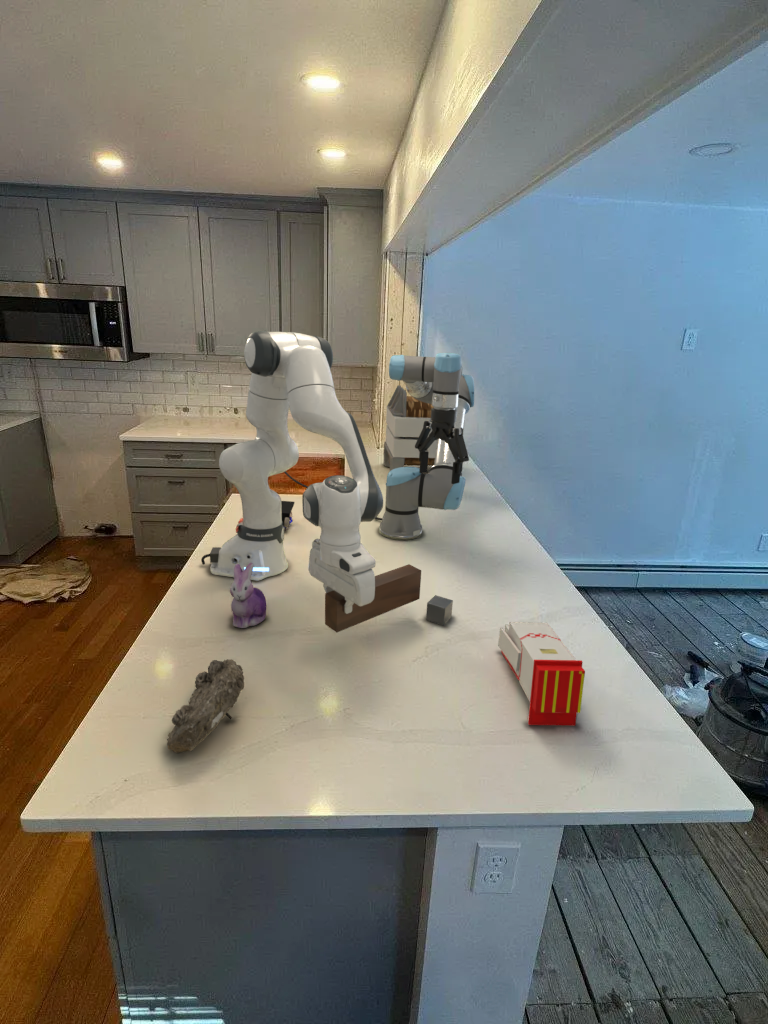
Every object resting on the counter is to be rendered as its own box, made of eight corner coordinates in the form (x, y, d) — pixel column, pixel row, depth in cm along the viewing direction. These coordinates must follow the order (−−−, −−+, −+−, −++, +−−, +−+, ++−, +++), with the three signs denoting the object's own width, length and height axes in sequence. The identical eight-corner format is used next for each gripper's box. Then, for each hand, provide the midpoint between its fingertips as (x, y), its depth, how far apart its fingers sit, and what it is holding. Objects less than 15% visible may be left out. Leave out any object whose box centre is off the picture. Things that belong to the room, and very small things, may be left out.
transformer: (382, 463, 289) (386, 382, 275) (445, 464, 293) (451, 384, 279) (390, 482, 257) (394, 392, 243) (460, 483, 261) (468, 394, 247)
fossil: (192, 660, 117) (244, 628, 112) (224, 691, 120) (276, 661, 115) (142, 746, 98) (202, 712, 93) (182, 779, 101) (242, 748, 96)
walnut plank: (324, 624, 130) (324, 593, 127) (407, 592, 146) (409, 564, 144) (336, 632, 127) (336, 601, 124) (419, 598, 143) (421, 570, 140)
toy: (544, 607, 134) (594, 667, 105) (539, 659, 137) (586, 732, 108) (493, 606, 134) (529, 666, 105) (489, 658, 137) (523, 731, 107)
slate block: (425, 620, 145) (427, 602, 144) (433, 611, 149) (435, 594, 148) (443, 625, 143) (445, 608, 141) (451, 617, 147) (453, 600, 145)
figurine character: (290, 537, 196) (295, 517, 209) (289, 518, 192) (295, 499, 206) (270, 536, 195) (277, 517, 209) (269, 517, 192) (276, 498, 206)
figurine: (235, 633, 135) (232, 576, 130) (225, 613, 144) (222, 559, 139) (273, 625, 139) (272, 570, 134) (262, 606, 148) (260, 553, 143)
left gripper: (301, 539, 129) (302, 593, 134) (357, 570, 115) (355, 630, 119) (324, 533, 133) (324, 585, 138) (381, 562, 119) (378, 620, 123)
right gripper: (406, 402, 172) (402, 469, 180) (468, 416, 155) (461, 490, 162) (423, 400, 177) (419, 466, 184) (485, 413, 159) (478, 485, 167)
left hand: (339, 606), depth 128 cm, fingers closed on walnut plank, 4 cm apart
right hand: (438, 477), depth 173 cm, fingers open, 13 cm apart
